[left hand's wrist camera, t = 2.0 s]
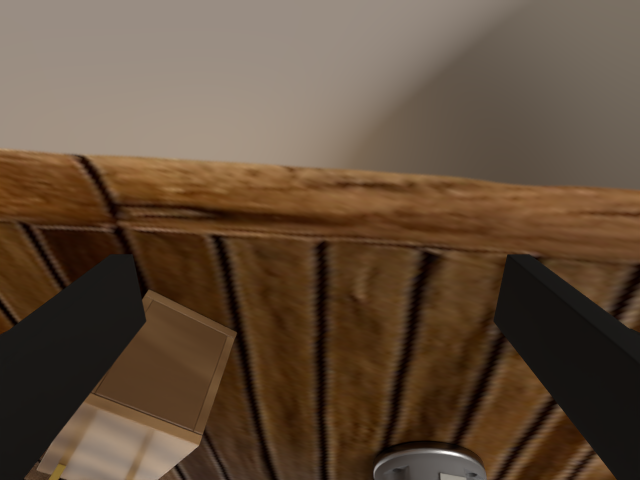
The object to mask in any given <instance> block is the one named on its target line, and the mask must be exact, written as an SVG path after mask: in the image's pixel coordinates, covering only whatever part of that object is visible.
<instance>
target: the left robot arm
mask: <svg viewBox="0 0 640 480" xmlns="http://www.w3.org/2000/svg"><path fill="white" fill-rule="evenodd" d="M145 323H146V316H145V312H144V307H143V302H142V297H141V292H140V288H139V283H138V278H137V273H136V269H135V264H134V259H133V254H111V255H109V256H108V257H107V258H105V259H104V260H103V261H101V262H100V263H99V264H97V265H96V266H95V267H93V268H92V269H90V270H89V271H88V272H86V273H85V274H84V275H82V276H81V277H80V278H78V279H77V280H76V281H74V282H73V283H72V284H70V285H69V286H68V287H66V288H65V289H64V290H62V291H61V292H60V293H58V294H57V295H55V296H54V297H53V298H51V299H50V300H49V301H47V302H46V303H45V304H43V305H42V306H41V307H39V308H38V309H37V310H35V311H34V312H33V313H31V314H30V315H29V316H27V317H26V318H25V319H23V320H22V321H20V322H19V323H18V324H16V325H15V326H14V327H12V328H11V329H10V330H8V331H6V332H4V333H2V334H0V480H23V479H24V478H25V476H26V475H27V474H28V472H29V471H30V470H31V469H32V467H33V466H34V465H35V463H36V462H37V461H38V460H39V458H40V457H41V456H42V454H43V453H44V452H45V451H46V449H47V448H48V447H49V446H50V444H51V443H52V442H53V440H54V439H55V438H56V437H57V435H58V434H59V433H60V431H61V430H62V429H63V428H64V426H65V425H66V424H67V422H68V421H69V420H70V419H71V417H72V416H73V415H74V413H75V412H76V411H77V410H78V408H79V407H80V406H81V405H82V403H83V402H84V401H85V399H86V398H87V397H88V396H89V394H90V393H91V392H92V390H93V389H94V388H95V387H96V385H97V384H98V383H99V381H100V380H101V379H102V378H103V376H104V375H105V374H106V373H107V371H108V370H109V369H110V367H111V366H112V365H113V364H114V362H115V361H116V360H117V358H118V357H119V356H120V355H121V353H122V352H123V351H124V349H125V348H126V347H127V346H128V344H129V343H130V342H131V340H132V339H133V338H134V337H135V335H136V334H137V333H138V332H139V330H140V329H141V328H142V326H143V325H144V324H145ZM494 323H495V324H496V325H497V326H498V328H499V329H500V330H501V332H502V333H503V334H504V335H505V337H506V338H507V339H508V340H509V342H510V343H511V344H512V346H513V347H514V348H515V349H516V351H517V352H518V353H519V355H520V356H521V357H522V358H523V360H524V361H525V362H526V364H527V365H528V366H529V367H530V369H531V370H532V371H533V373H534V374H535V375H536V376H537V378H538V379H539V380H540V381H541V383H542V384H543V385H544V387H545V388H546V389H547V390H548V392H549V393H550V394H551V396H552V397H553V398H554V399H555V401H556V402H557V403H558V405H559V406H560V407H561V408H562V410H563V411H564V412H565V413H566V415H567V416H568V417H569V419H570V420H571V421H572V422H573V424H574V425H575V426H576V428H577V429H578V430H579V431H580V433H581V434H582V435H583V437H584V438H585V439H586V440H587V442H588V443H589V444H590V446H591V447H592V448H593V449H594V451H595V452H596V453H597V454H598V456H599V457H600V458H601V460H602V461H603V462H604V463H605V465H606V466H607V467H608V469H609V470H610V471H611V472H612V474H613V475H614V476H615V478H616V479H617V480H640V333H639V332H637V331H635V330H633V329H629V328H628V327H626V326H625V325H624V324H622V323H621V322H620V321H618V320H617V319H615V318H614V317H613V316H611V315H610V314H609V313H607V312H606V311H605V310H603V309H602V308H601V307H599V306H598V305H597V304H595V303H594V302H593V301H591V300H590V299H589V298H587V297H586V296H585V295H583V294H582V293H580V292H579V291H578V290H576V289H575V288H574V287H572V286H571V285H570V284H568V283H567V282H566V281H564V280H563V279H562V278H560V277H559V276H558V275H556V274H555V273H554V272H552V271H551V270H550V269H548V268H547V267H545V266H544V265H543V264H541V263H540V262H539V261H537V260H536V259H535V258H533V257H532V256H531V255H529V254H507V259H506V264H505V269H504V273H503V278H502V283H501V288H500V292H499V297H498V302H497V307H496V312H495V316H494ZM373 468H374V480H487V479H486V472H485V469H484V465H483V462H482V460H481V459H480V457H479V456H477V455H476V454H475V453H473V452H472V451H470V450H468V449H465V448H463V447H460V446H456V445H452V444H447V443H439V442H415V443H408V444H402V445H398V446H395V447H392V448H390V449H387V450H385V451H384V452H382V453H381V454H379V455H378V456H377V457H376V459H375V460H374V464H373Z"/></svg>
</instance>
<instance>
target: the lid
mask: <svg viewBox="0 0 640 480" xmlns="http://www.w3.org/2000/svg"><path fill="white" fill-rule="evenodd" d="M201 438H202V435H199V434H196V433H194V432H191V431H188V430H186V429H183V428H181V427H178V426H175V425H173V424H170V423H168V422H165V421H162V420H160V419H157V418H154V417H152V416H149V415H147V414H144V413H141V412H139V411H136V410H133V409H131V408H128V407H126V406H123V405H120V404H118V403H115V402H113V401H110V400H107V399H105V398H102V397H99V396H97V395H94V394H92V393H90V394H89V396H88V397H87V398H86V399H85V401H84V402H83V403H82V405H81V406H80V407H79V408H78V410H77V411H76V412H75V413H74V415H73V416H72V417H71V419H70V420H69V421H68V422H67V424H66V425H65V426H64V428H63V429H62V430H61V431H60V433H59V434H58V435H57V437H56V438H55V439H54V440H53V442H52V443H51V445H50V447H49V448H48V450H47V452H46V454H45V455H44V457H43V459H42V461H41V463H40V464H39V466H38V468H37V471H40V472H44V473H47V474H50V475H51V477H50V478H49V480H58V479H59V478H63V479H67V480H158V479H159V478H160V477H161V476H163V475H164V474H165V473H166V472H168V471H169V470H170V469H171V468H172V467H174V466H175V465H176V464H177V463H178V462H180V461H181V460H182V459H183V458H185V457H186V456H187V455H188V454H189V453H191V452H192V451H193V450H194V449H195V448H197V447H198V446H199V444H200V441H201Z"/></svg>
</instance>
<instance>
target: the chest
mask: <svg viewBox="0 0 640 480" xmlns="http://www.w3.org/2000/svg"><path fill="white" fill-rule="evenodd" d="M142 302H143V307H144V312H145V316H146V323H145V324H144V325H143V326H142V328H141V329H140V330H139V332H138V333H137V334H136V335H135V337H134V338H133V339H132V340H131V342H130V343H129V344H128V346H127V347H126V348H125V349H124V351H123V352H122V353H121V355H120V356H119V357H118V358H117V360H116V361H115V362H114V364H113V365H112V366H111V367H110V369H109V370H108V371H107V373H106V374H105V375H104V376H103V378H102V379H101V380H100V381H99V383H98V384H97V385H96V387H95V388H94V389H93V390H92V392H91V393H92V394H94V395H97V396H99V397H102V398H105V399H107V400H110V401H113V402H115V403H118V404H120V405H123V406H126V407H128V408H131V409H133V410H136V411H139V412H141V413H144V414H147V415H149V416H152V417H154V418H157V419H160V420H162V421H165V422H168V423H170V424H173V425H175V426H178V427H181V428H183V429H186V430H188V431H191V432H194V433H196V434H199V435H202V434H203V432H204V429H205V426H206V423H207V420H208V417H209V414H210V411H211V408H212V405H213V402H214V399H215V396H216V393H217V390H218V387H219V384H220V381H221V378H222V375H223V372H224V369H225V366H226V363H227V360H228V357H229V354H230V351H231V348H232V345H233V342H234V339H235V337H236V334H237V332H235V331H233V330H231V329H229V328H227V327H225V326H223V325H221V324H219V323H217V322H215V321H213V320H211V319H209V318H207V317H205V316H203V315H200V314H198V313H196V312H194V311H192V310H190V309H188V308H186V307H184V306H182V305H180V304H178V303H176V302H174V301H172V300H170V299H168V298H166V297H164V296H162V295H160V294H158V293H156V292H154V291H152V290H148V291H147V293H146V294H145V296H144V297H143V299H142Z"/></svg>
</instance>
